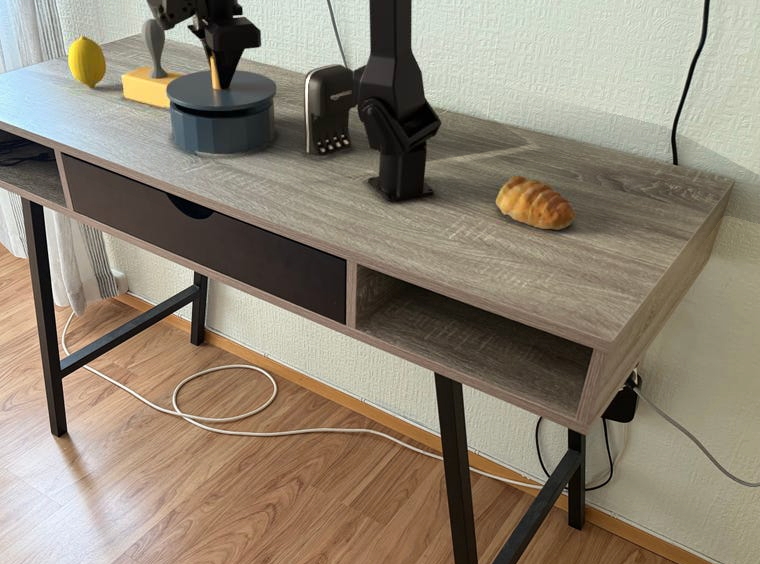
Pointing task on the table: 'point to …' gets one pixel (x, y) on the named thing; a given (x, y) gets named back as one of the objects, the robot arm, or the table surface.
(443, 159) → the table surface
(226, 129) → the tin
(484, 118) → the table surface
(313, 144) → the battery charger
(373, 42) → the robot arm
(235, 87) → the tin lid
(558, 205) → the pastry
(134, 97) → the rubber stamp
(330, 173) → the table surface
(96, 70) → the lemon
